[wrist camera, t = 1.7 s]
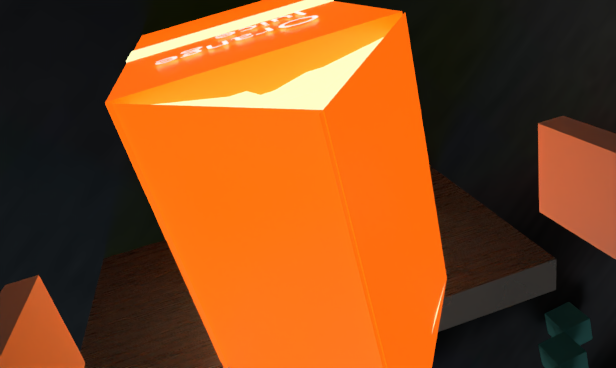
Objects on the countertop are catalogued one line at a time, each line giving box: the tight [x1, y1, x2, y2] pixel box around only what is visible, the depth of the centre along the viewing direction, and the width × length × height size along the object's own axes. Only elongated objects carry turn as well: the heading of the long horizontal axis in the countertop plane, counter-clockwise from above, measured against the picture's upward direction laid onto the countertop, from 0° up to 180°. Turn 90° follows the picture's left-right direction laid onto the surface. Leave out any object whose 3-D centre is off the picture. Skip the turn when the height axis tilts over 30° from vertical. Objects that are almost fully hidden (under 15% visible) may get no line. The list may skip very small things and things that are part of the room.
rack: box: [80, 165, 556, 368], centre depth 20 cm, size 24×20×12 cm
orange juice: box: [105, 0, 447, 368], centre depth 18 cm, size 8×9×20 cm
